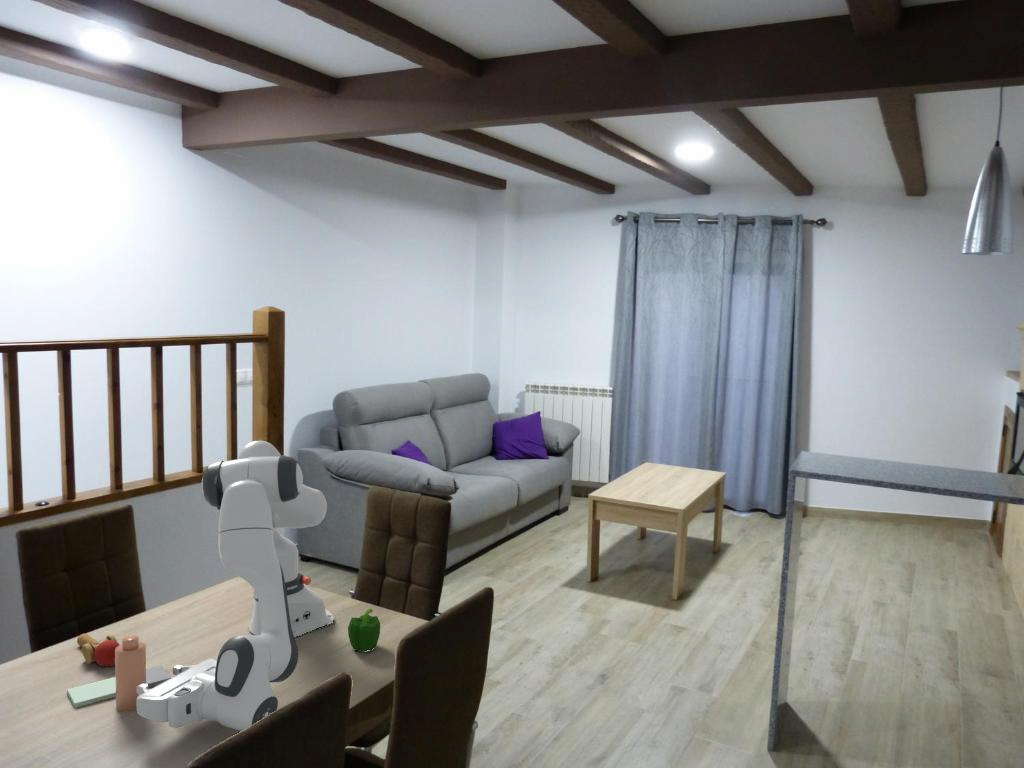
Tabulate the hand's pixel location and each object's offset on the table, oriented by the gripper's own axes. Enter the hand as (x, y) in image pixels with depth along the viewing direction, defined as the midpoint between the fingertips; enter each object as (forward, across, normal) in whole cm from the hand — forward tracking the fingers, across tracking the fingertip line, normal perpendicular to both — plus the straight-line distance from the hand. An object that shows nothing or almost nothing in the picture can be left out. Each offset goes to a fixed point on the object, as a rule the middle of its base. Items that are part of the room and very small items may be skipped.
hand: (157, 678), depth 171 cm
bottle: (+8, 0, +8) cm, 11 cm away
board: (+16, -4, +8) cm, 18 cm away
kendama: (+34, -12, +8) cm, 37 cm away
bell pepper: (-20, -47, +8) cm, 52 cm away
